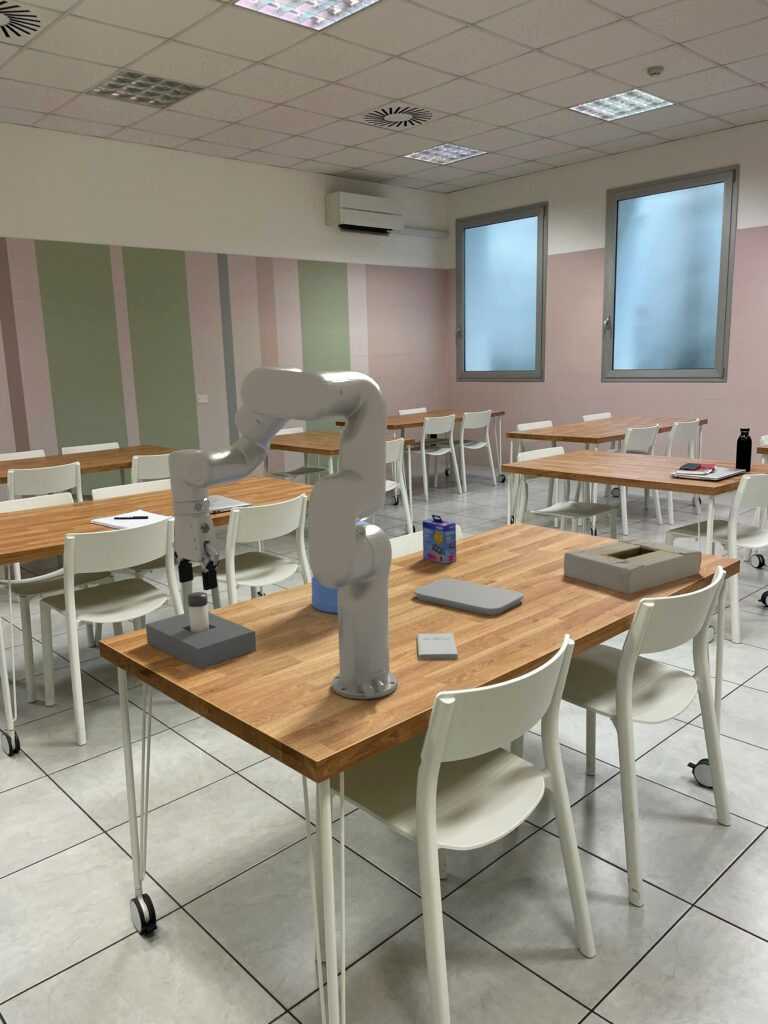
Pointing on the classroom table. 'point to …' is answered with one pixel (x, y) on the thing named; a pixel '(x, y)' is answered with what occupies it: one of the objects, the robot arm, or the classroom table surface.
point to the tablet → (469, 596)
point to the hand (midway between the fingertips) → (198, 585)
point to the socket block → (201, 640)
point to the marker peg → (198, 612)
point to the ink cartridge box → (439, 540)
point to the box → (632, 564)
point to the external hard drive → (437, 646)
